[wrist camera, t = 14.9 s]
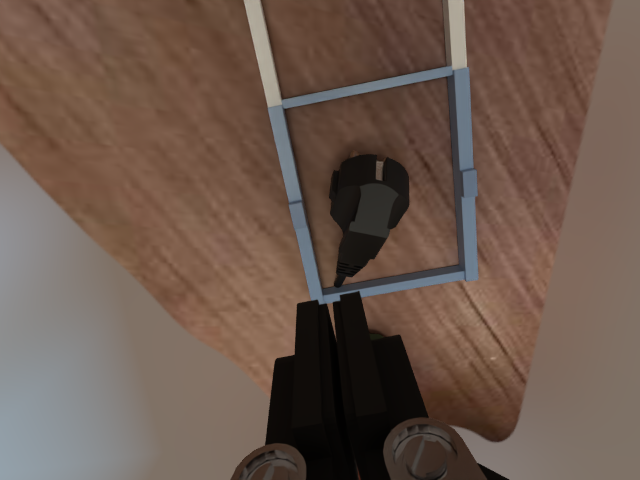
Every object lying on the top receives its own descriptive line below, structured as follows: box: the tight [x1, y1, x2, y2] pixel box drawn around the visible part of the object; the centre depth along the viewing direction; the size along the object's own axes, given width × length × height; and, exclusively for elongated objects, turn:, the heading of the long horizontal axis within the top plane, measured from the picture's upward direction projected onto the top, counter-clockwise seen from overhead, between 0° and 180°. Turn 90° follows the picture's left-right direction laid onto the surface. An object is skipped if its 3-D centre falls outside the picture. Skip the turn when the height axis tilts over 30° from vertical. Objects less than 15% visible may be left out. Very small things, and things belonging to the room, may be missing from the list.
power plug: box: [329, 150, 409, 288], centre depth 32 cm, size 6×8×12 cm
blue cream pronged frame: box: [244, 0, 478, 305], centre depth 28 cm, size 31×14×2 cm, turn 11°
